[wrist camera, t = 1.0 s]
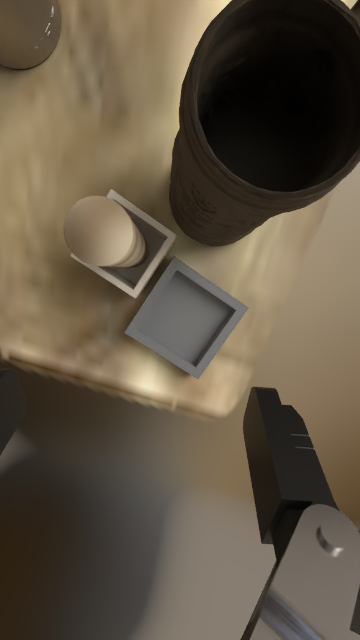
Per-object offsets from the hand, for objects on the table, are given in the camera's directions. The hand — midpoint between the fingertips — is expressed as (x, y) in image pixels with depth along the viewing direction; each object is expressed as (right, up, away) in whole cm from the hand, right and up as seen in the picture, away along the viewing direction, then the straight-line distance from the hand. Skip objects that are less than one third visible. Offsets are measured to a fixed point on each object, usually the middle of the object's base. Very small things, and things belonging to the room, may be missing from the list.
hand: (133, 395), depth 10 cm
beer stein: (+7, +18, +23) cm, 30 cm away
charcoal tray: (+2, +3, +25) cm, 25 cm away
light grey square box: (-4, +11, +23) cm, 26 cm away
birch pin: (-4, +11, +23) cm, 25 cm away
